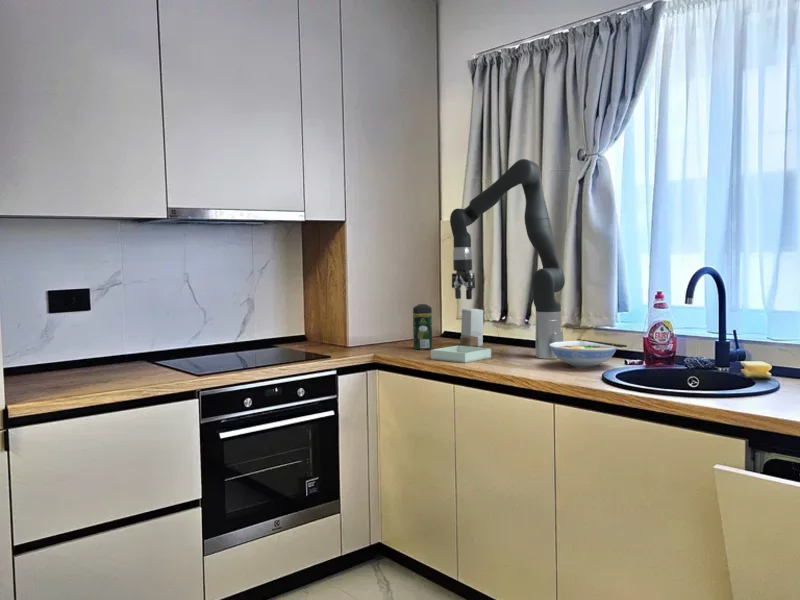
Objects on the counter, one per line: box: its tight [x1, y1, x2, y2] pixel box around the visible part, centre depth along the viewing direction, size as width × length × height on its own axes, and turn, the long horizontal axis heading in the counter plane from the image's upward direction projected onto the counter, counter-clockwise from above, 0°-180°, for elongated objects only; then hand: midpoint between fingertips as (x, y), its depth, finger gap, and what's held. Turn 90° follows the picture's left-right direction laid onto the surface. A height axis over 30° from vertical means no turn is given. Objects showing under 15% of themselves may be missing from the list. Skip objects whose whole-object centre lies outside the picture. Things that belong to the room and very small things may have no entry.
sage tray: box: [430, 345, 492, 364], centre depth 256 cm, size 16×16×4 cm
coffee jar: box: [412, 303, 433, 351], centre depth 286 cm, size 10×8×19 cm
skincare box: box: [460, 307, 484, 347], centre depth 294 cm, size 8×7×16 cm
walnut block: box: [459, 336, 479, 347], centre depth 275 cm, size 5×5×6 cm
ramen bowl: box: [550, 338, 628, 369], centre depth 234 cm, size 25×23×8 cm
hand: (463, 299), depth 276 cm, fingers open, 8 cm apart
